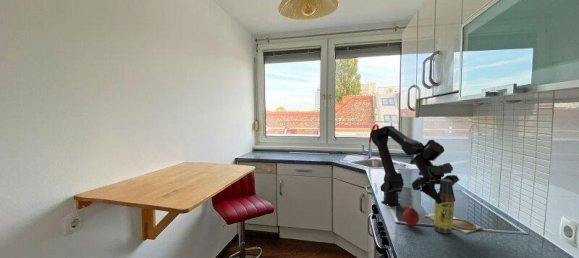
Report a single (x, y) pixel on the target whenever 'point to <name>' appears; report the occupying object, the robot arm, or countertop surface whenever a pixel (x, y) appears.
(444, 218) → the sauce bottle
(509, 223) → the countertop surface
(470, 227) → the beige flat board
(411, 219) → the onion
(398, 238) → the countertop surface
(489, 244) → the countertop surface
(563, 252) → the countertop surface
